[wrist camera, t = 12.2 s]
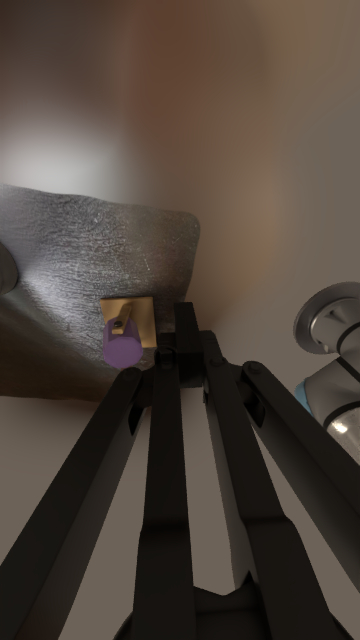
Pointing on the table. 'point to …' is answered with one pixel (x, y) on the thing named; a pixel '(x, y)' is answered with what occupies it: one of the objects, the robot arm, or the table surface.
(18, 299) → the table surface
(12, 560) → the robot arm
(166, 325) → the table surface
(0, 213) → the table surface
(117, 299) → the swivel stand
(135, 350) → the cup
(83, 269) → the table surface
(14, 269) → the vase
